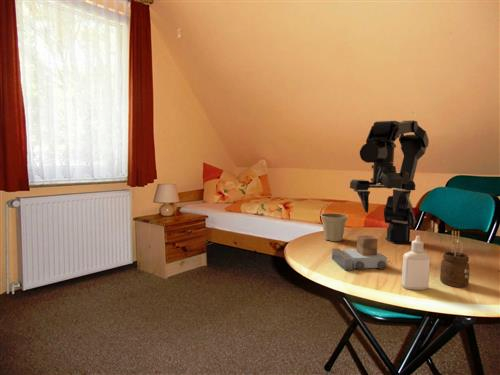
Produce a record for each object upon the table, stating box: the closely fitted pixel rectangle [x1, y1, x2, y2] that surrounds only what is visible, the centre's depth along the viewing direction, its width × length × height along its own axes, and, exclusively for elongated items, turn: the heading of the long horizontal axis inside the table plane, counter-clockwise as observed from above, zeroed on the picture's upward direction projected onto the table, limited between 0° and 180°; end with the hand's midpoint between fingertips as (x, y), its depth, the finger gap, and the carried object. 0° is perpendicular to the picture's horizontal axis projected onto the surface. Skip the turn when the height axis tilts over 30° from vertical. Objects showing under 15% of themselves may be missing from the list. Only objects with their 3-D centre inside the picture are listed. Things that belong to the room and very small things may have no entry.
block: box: [356, 234, 379, 255], centre depth 96 cm, size 4×4×4 cm
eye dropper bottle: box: [401, 235, 431, 291], centre depth 80 cm, size 4×6×12 cm
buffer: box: [331, 248, 353, 271], centre depth 96 cm, size 2×10×3 cm, turn 6°
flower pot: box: [320, 212, 349, 242], centre depth 123 cm, size 9×9×9 cm
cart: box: [342, 248, 388, 270], centre depth 96 cm, size 9×10×3 cm
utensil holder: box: [439, 230, 471, 288], centre depth 83 cm, size 6×6×12 cm
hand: (380, 212), depth 109 cm, fingers open, 9 cm apart
